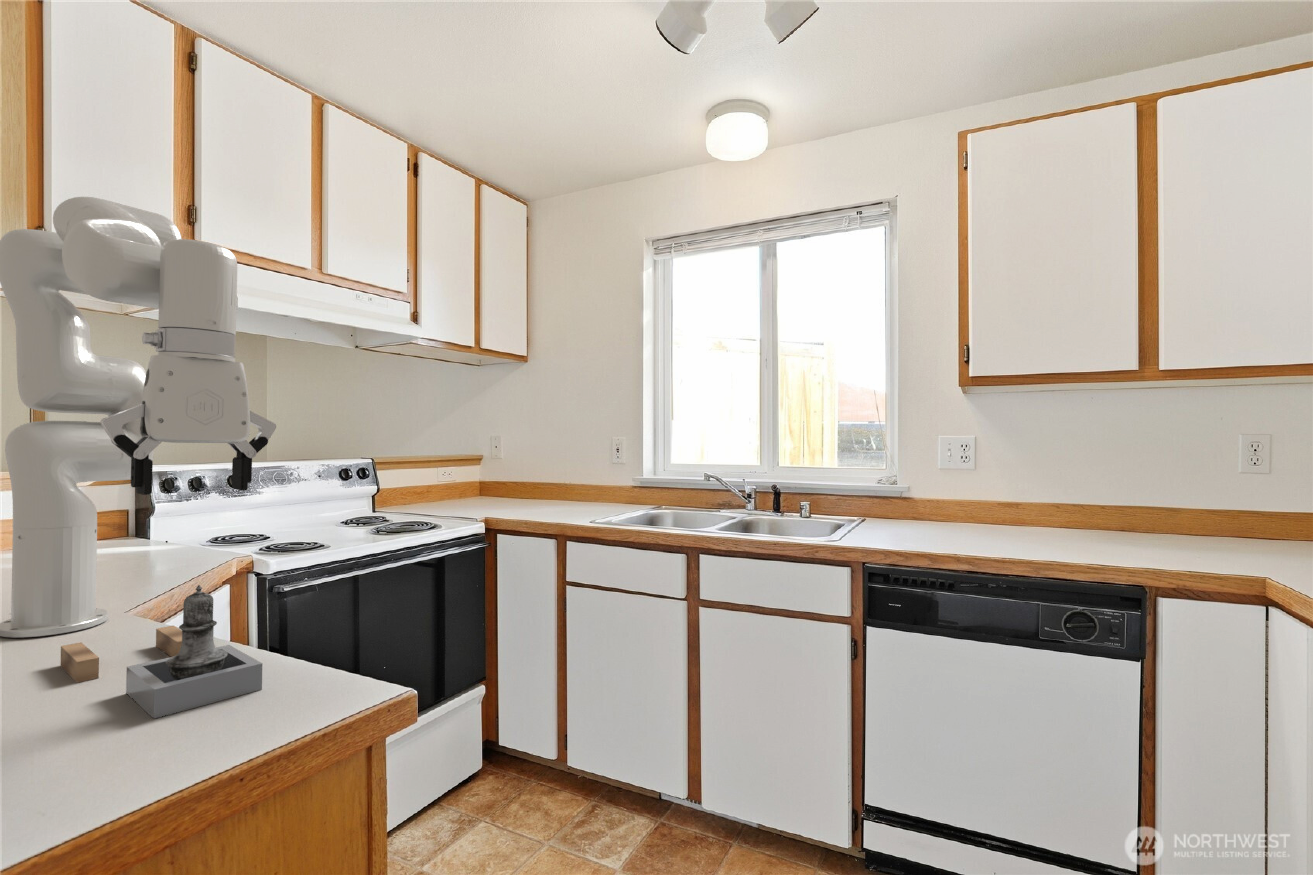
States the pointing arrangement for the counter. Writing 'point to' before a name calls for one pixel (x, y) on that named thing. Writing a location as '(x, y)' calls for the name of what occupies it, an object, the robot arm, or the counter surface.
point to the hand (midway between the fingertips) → (194, 491)
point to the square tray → (192, 684)
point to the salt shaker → (197, 639)
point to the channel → (86, 663)
